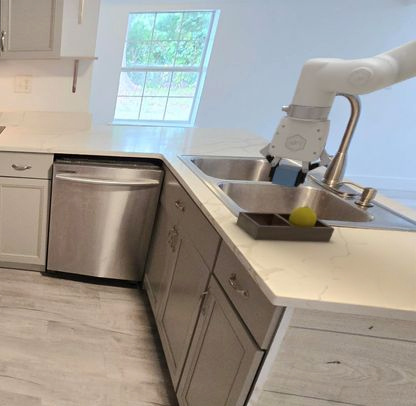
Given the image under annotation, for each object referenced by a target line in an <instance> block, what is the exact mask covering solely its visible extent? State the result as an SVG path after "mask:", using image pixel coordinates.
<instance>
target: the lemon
mask: <svg viewBox="0 0 416 406" xmlns="http://www.w3.org/2000/svg"><path fill="white" fill-rule="evenodd" d="M290 213H291V215H290V217H289V222H290V223H291V224H293V225H294V226H299V227H313V226H314V225H315V223H316V218H317V212H316V211H315V210H314V209H312V208H311V207H310V206H308V205H305V206H300V207H297V208H295V209H294V210H292V212H290Z"/></svg>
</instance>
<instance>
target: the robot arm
mask: <svg viewBox="0 0 416 406" xmlns="http://www.w3.org/2000/svg"><path fill="white" fill-rule="evenodd" d="M413 78H416V38H415V39H413V40H410V41H407V42H405V43H403V44H401V45H399V46H396V47H393V48H391V49H389V50H386V51H384V52H382V53H380V54H377V55H374V56H370V57H364V58H357V59H356V58H355V59H343V58H339V57H317V58H315V57H314V58H310V59H308V60H306V61H305V62H304V64H303V65H302V67H301V71H300V73H299V76H298V81H297V83H296V86H295V90H294V93H293V96H292V99H291V102H290V104H289V105H283V106H282V107H281V112H285V113H286V115H284V116H282V117H281V118H280V120H279V122H278V125H277V127H276V128H275V132H274V133H273V135H272V139H271V141H270V143H268V144H267V145H265V146H264V147H263V148H261V149H260V150H259V153H260V154H261V156H263V157H264V158H265V159H266V161H267V162H268V163H269V166H270V169H269V173H268V178H269V182H270V183H272V180H273V177H274V174H275V170H276V167H278V166H279V165H280V162H281V161H282V160H283V159H288V160H292V161H293V160H294V161H299V162H301V167H302V169H301V171H300V172H299V173H298V176H297V179H296V182H295V184H294V188H298V187H299V186H301V185H303V184H305V181H306V178H307V175H308V172H311V171H313V170H315V169H318V168H321V167H324V166H327V165H330V164H331V163H332V160H331V157H330V155H329V153H328V152H327V150H326V145H327V141H328V138H329V133H330V127H331V119H328V118H329V116H330V112H331V111H332V107H333V105H334V102H335V99H336V97H337V93H340V94H345V95H351V96H364V95H368V94H372V93H374V92H377V91H380V90H383V89H385V88H389V87H392V86H393V85H396V84H399V83H401V82H404V81H407V80H410V79H413ZM319 159H321V160H319ZM318 160H319V161H318Z"/></svg>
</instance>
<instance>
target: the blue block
mask: <svg viewBox="0 0 416 406" xmlns="http://www.w3.org/2000/svg"><path fill="white" fill-rule="evenodd" d="M301 169H302V166H296V165H292V164H286V163H281V164H279V166H278V167H276V170H275V174H274V177H273V180H272V182H271V184H272V185H276V186H282V187H286V188H290V189H294V188H295V186H294V184H295V182H296V179H297V176H298V173H299V172H300V171H301Z"/></svg>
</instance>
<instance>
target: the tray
mask: <svg viewBox="0 0 416 406" xmlns="http://www.w3.org/2000/svg"><path fill="white" fill-rule="evenodd" d="M291 213H292V212H267V211H266V212H265V211H264V212H262V211H260V212H258V211H239V212H238V216H237V220H236V223H235V224H236V225H237V226H238V227H239V228H240V229H242V230H243V231H244V232H245V233H246V234H247V235H249V236H250V237H251V238H252V239H253V240H255V241H257V240H258V241H285V242H286V241H287V242H288V241H289V242H290V241H291V242H320V243H321V242H323V243H328V242H329V243H330V241H331V239H332V236H333V233H334V231H335V228H334V227H332V226H331V225H329V224H328V223H326V222H324V221H322V220H321V219H319V218H317V217H316V223H315V225H314V226H313V227H299V226H294V225H293V224H291V223H290V222H289V217H290V215H291Z"/></svg>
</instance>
